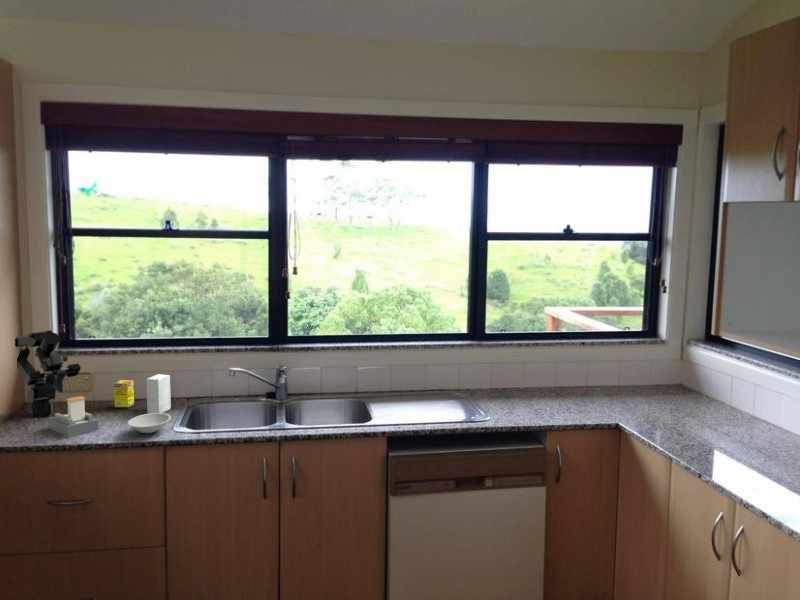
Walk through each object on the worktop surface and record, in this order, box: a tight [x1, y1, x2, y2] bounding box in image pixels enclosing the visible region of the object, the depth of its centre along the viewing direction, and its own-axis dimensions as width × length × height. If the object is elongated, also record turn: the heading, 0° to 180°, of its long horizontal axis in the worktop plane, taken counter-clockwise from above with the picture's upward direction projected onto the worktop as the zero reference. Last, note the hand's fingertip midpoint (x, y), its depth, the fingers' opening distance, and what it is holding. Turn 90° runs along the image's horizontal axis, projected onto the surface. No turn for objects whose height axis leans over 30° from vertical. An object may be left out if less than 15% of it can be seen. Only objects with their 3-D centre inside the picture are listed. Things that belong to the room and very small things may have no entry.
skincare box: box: [145, 373, 172, 414], centre depth 264 cm, size 8×6×15 cm
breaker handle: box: [66, 395, 86, 422], centre depth 237 cm, size 3×5×8 cm, turn 141°
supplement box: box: [113, 379, 135, 410], centre depth 270 cm, size 6×6×11 cm
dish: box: [127, 412, 172, 434], centre depth 237 cm, size 18×14×5 cm
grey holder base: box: [48, 411, 99, 438], centre depth 240 cm, size 16×11×6 cm
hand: (61, 392), depth 245 cm, fingers closed
